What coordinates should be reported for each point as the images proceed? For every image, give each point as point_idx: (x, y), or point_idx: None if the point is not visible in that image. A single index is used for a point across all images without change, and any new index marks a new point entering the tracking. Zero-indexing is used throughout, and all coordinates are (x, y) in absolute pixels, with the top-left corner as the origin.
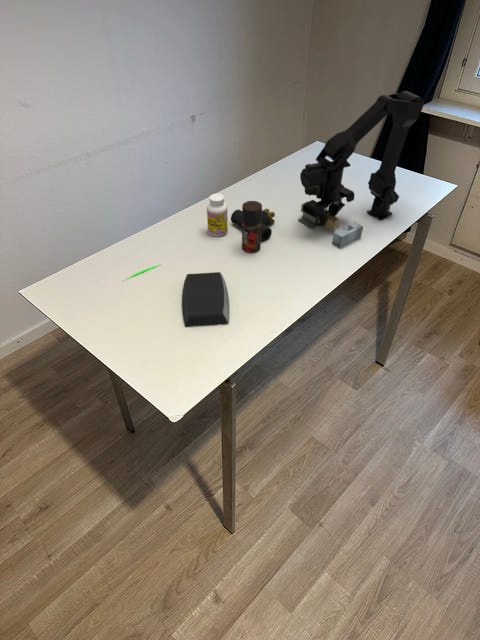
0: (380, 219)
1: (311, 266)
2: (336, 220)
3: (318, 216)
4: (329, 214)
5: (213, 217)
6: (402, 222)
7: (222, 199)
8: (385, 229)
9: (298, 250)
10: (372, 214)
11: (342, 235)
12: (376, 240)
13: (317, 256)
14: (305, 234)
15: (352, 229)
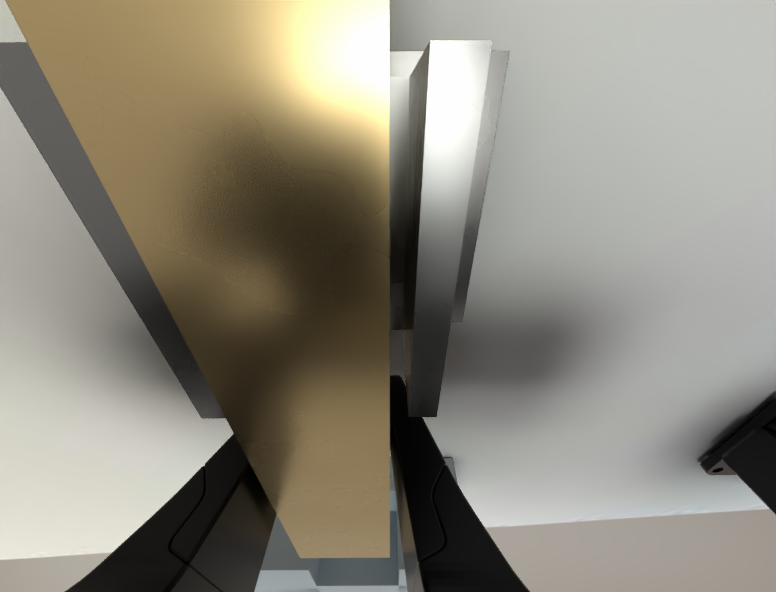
0: (703, 467)
1: (73, 495)
2: (347, 554)
3: (192, 483)
4: (369, 502)
5: None
6: (722, 502)
7: None
8: (605, 497)
9: (19, 414)
10: (747, 447)
11: (268, 589)
12: (483, 513)
13: (134, 476)
14: (138, 327)
15: (375, 586)
